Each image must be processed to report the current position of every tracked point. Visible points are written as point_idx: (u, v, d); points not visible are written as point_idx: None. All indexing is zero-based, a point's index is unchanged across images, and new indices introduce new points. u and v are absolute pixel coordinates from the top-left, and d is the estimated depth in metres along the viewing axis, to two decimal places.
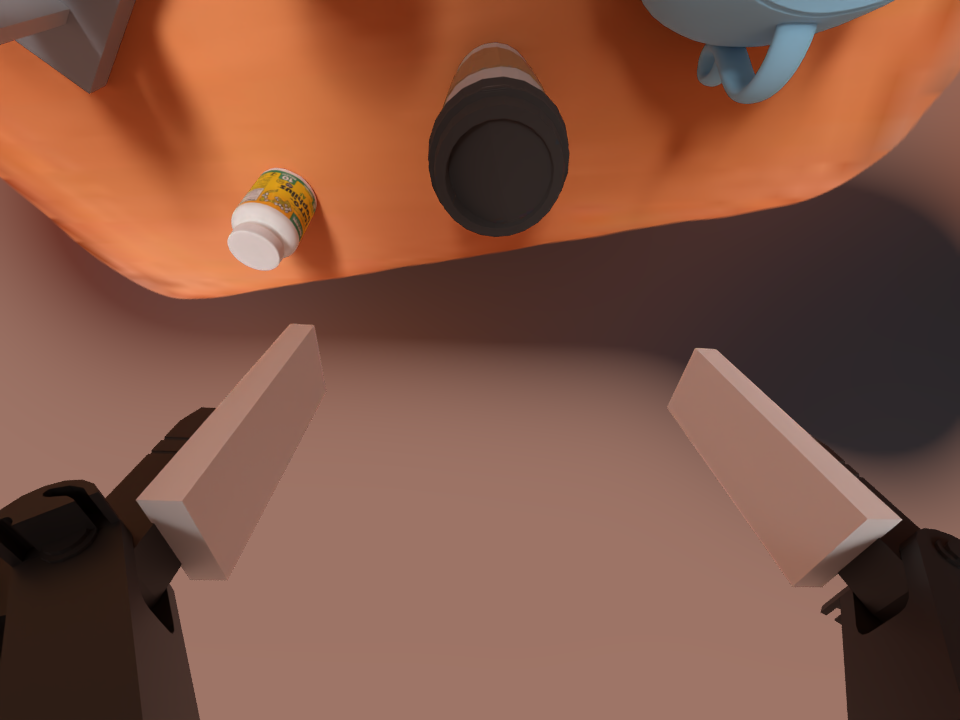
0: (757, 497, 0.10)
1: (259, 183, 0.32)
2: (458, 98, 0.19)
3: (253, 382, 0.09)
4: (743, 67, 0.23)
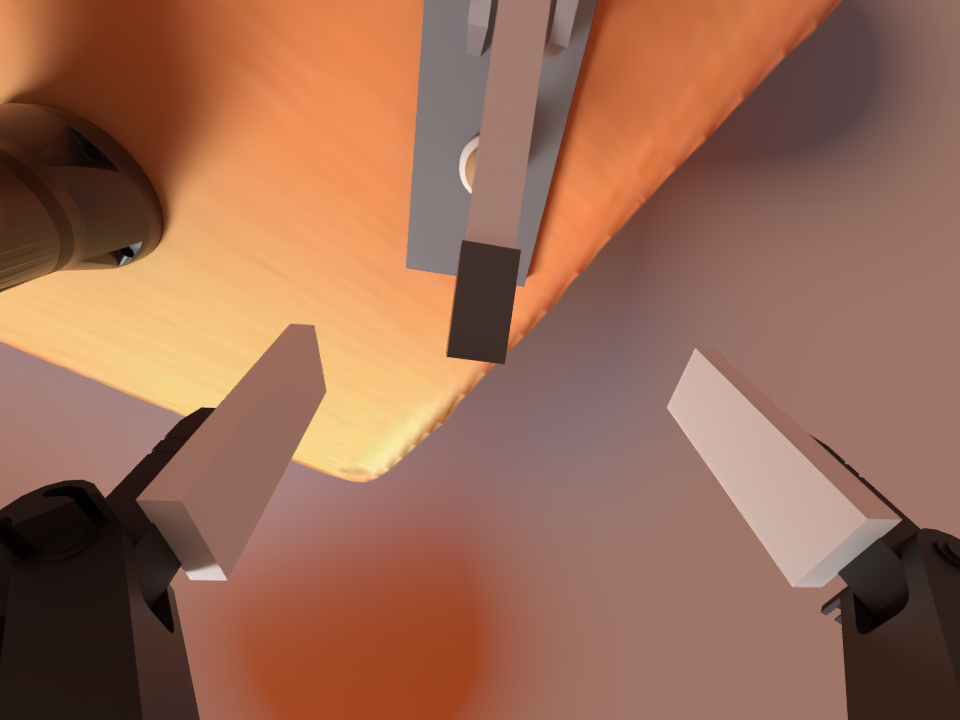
0: (757, 497, 0.10)
1: None
2: None
3: (253, 382, 0.09)
4: None
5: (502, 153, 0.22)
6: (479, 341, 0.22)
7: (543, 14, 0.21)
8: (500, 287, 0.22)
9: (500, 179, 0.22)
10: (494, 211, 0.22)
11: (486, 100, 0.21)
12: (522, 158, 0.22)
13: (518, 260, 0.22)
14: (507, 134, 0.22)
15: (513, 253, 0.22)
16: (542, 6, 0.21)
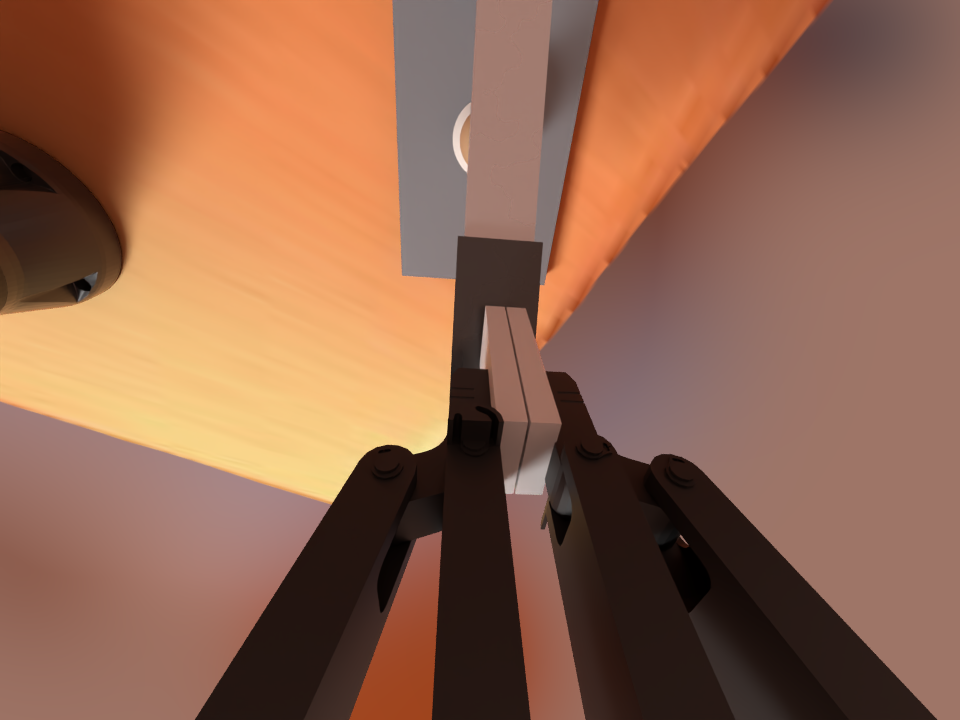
0: None
1: None
2: None
3: (500, 347, 0.12)
4: None
5: (506, 103, 0.15)
6: None
7: None
8: (517, 298, 0.16)
9: (506, 142, 0.15)
10: (500, 190, 0.15)
11: (477, 26, 0.15)
12: (536, 108, 0.15)
13: (540, 257, 0.15)
14: (512, 74, 0.15)
15: (532, 248, 0.15)
16: None
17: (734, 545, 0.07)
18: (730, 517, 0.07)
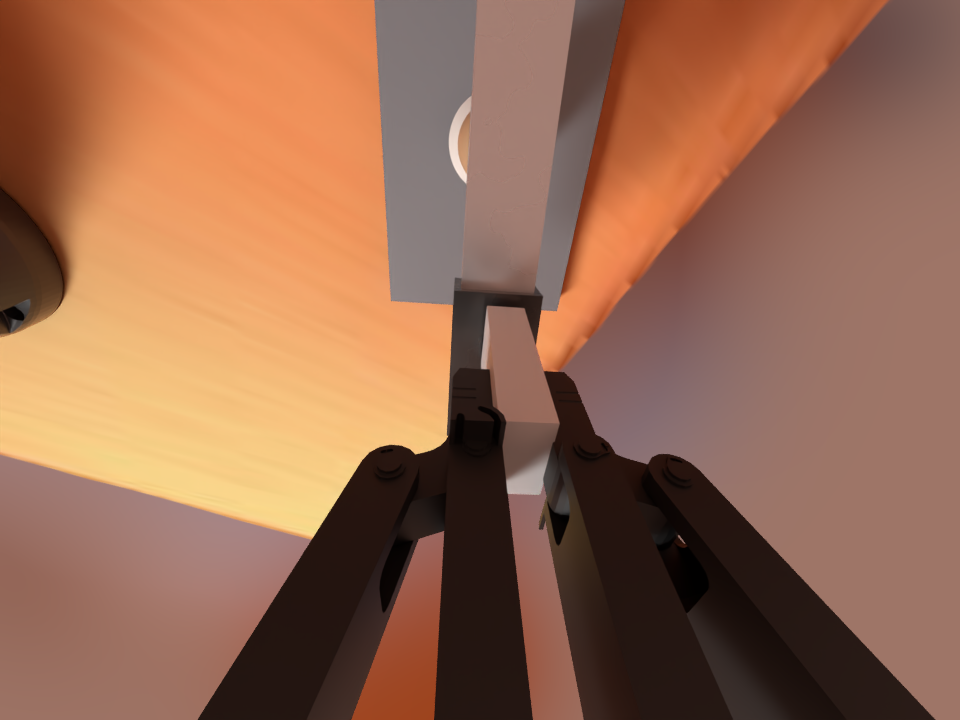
0: None
1: None
2: None
3: (501, 347, 0.12)
4: None
5: (511, 136, 0.13)
6: None
7: None
8: None
9: (508, 183, 0.13)
10: (500, 238, 0.14)
11: (477, 30, 0.11)
12: (545, 141, 0.13)
13: (539, 311, 0.15)
14: (519, 96, 0.12)
15: (531, 302, 0.15)
16: None
17: (732, 545, 0.07)
18: (728, 517, 0.07)
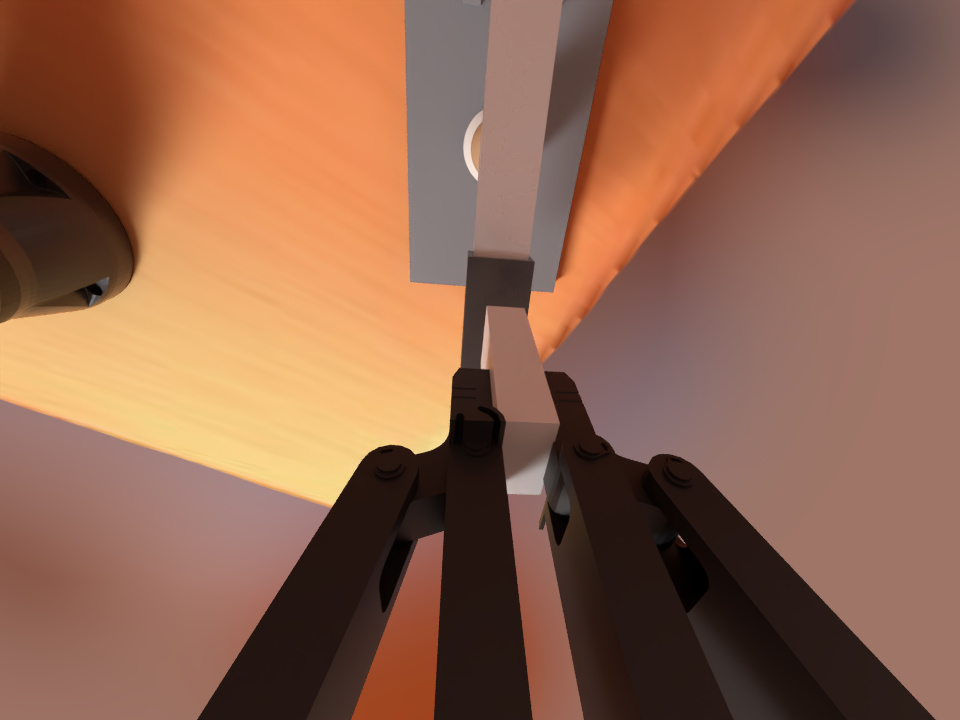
0: None
1: None
2: None
3: (501, 347, 0.12)
4: None
5: (511, 142, 0.18)
6: None
7: None
8: (512, 304, 0.20)
9: (509, 176, 0.18)
10: (503, 217, 0.19)
11: (488, 68, 0.16)
12: (536, 145, 0.18)
13: (531, 273, 0.20)
14: (517, 114, 0.17)
15: (526, 266, 0.20)
16: None
17: (732, 545, 0.07)
18: (728, 517, 0.07)
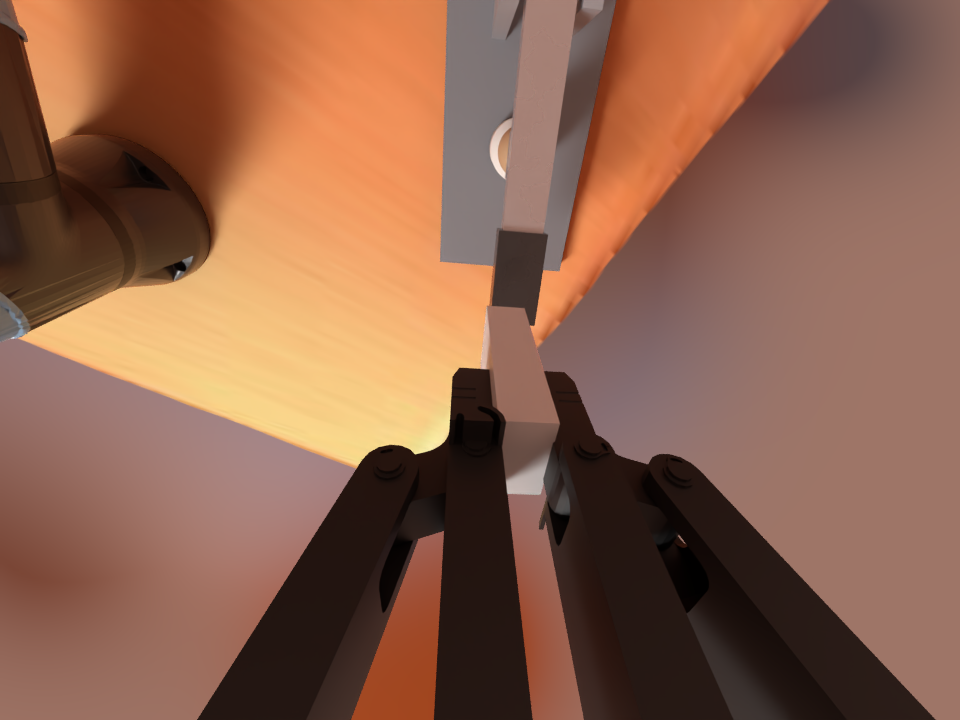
0: None
1: None
2: None
3: (501, 347, 0.12)
4: None
5: (532, 146, 0.25)
6: None
7: None
8: (530, 267, 0.27)
9: (530, 171, 0.25)
10: (525, 201, 0.26)
11: (517, 95, 0.23)
12: (550, 149, 0.25)
13: (545, 243, 0.27)
14: (537, 127, 0.24)
15: (541, 238, 0.27)
16: None
17: (732, 545, 0.07)
18: (728, 517, 0.07)
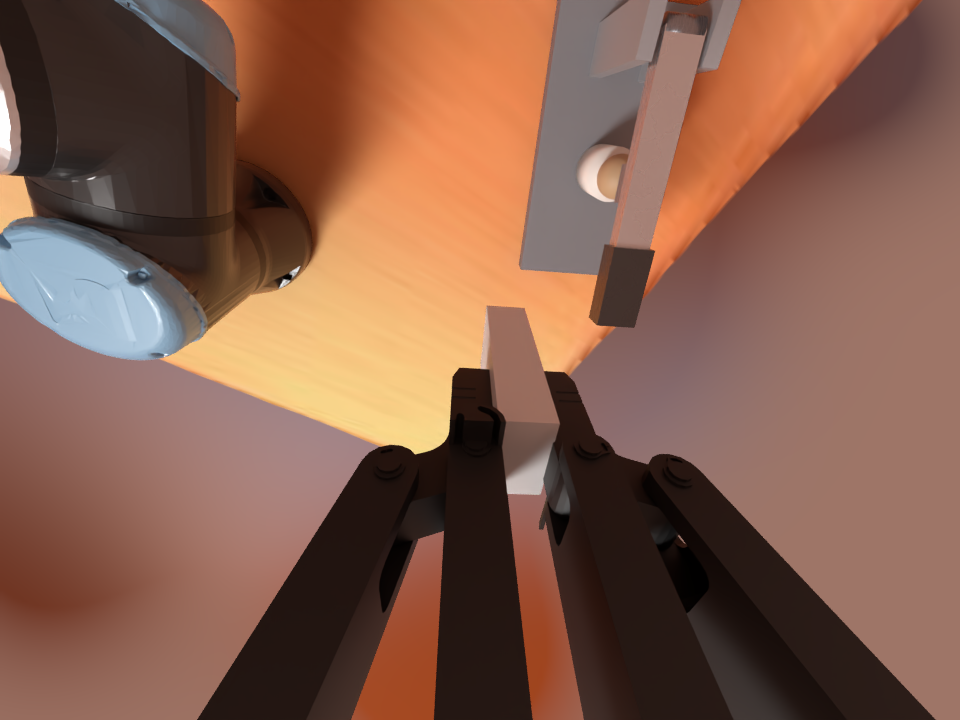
0: None
1: None
2: None
3: (501, 347, 0.12)
4: None
5: (648, 178, 0.29)
6: (619, 314, 0.34)
7: (696, 54, 0.26)
8: (637, 277, 0.32)
9: (645, 198, 0.30)
10: (637, 223, 0.31)
11: (641, 137, 0.28)
12: (663, 180, 0.29)
13: (652, 258, 0.32)
14: (654, 162, 0.29)
15: (649, 253, 0.31)
16: (696, 46, 0.26)
17: (732, 545, 0.07)
18: (728, 517, 0.07)
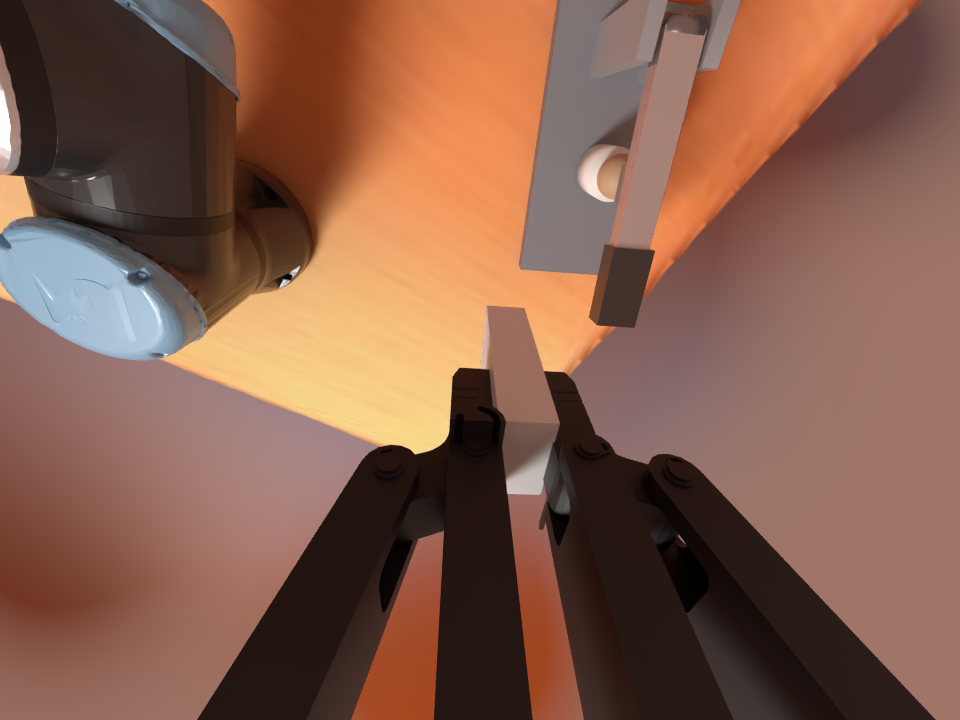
0: None
1: None
2: None
3: (501, 347, 0.12)
4: None
5: (648, 178, 0.29)
6: (619, 314, 0.34)
7: (696, 54, 0.26)
8: (637, 277, 0.32)
9: (645, 198, 0.30)
10: (637, 223, 0.31)
11: (641, 137, 0.28)
12: (663, 180, 0.29)
13: (652, 258, 0.32)
14: (654, 162, 0.29)
15: (649, 253, 0.31)
16: (696, 46, 0.26)
17: (732, 545, 0.07)
18: (728, 518, 0.07)
